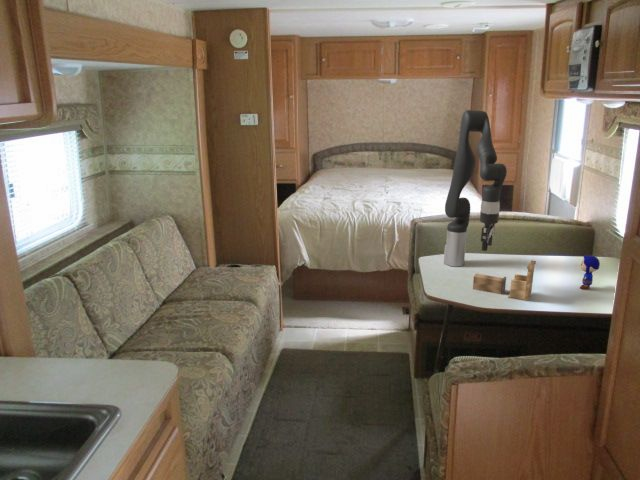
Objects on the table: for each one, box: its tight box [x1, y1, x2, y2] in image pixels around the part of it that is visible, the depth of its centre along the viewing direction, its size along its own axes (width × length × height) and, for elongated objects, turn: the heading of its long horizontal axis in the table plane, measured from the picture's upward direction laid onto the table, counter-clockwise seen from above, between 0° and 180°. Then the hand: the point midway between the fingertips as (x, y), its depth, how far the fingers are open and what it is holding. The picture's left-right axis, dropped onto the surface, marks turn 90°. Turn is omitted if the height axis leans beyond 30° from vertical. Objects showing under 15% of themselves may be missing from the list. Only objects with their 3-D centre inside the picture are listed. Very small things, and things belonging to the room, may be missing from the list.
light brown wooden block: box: [472, 273, 507, 295], centre depth 236 cm, size 13×4×7 cm, turn 60°
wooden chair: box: [507, 259, 537, 302], centre depth 228 cm, size 8×9×15 cm
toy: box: [579, 254, 601, 291], centre depth 236 cm, size 13×8×15 cm, turn 142°
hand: (486, 247), depth 234 cm, fingers open, 8 cm apart
